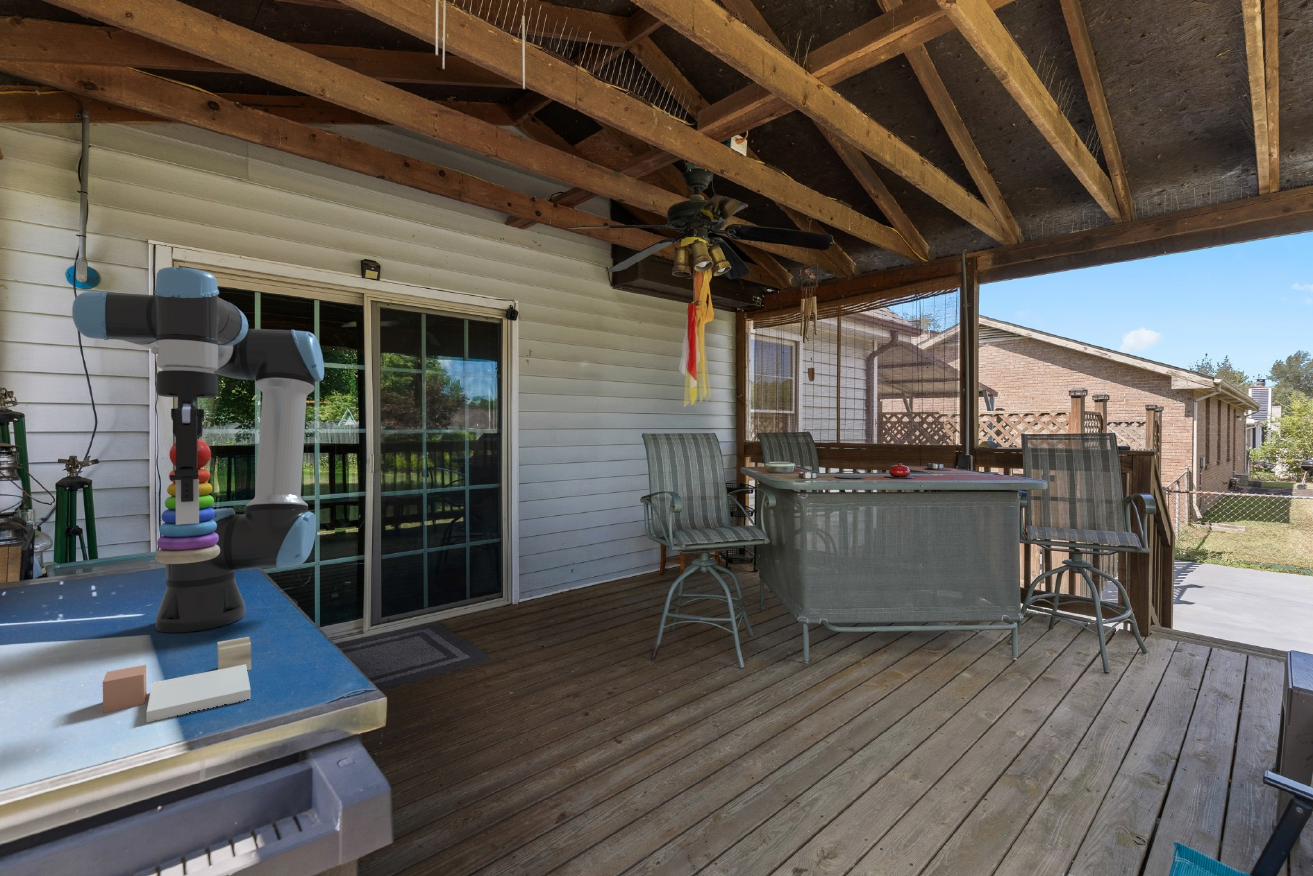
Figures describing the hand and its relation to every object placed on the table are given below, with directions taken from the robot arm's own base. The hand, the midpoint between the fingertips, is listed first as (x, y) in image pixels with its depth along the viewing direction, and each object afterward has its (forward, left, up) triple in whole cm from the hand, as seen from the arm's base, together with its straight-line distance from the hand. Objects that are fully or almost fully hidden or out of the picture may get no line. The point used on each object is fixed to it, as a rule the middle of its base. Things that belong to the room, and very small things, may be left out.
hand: (188, 520), depth 93 cm
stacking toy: (0, 0, -6) cm, 6 cm away
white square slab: (+2, +1, -27) cm, 27 cm away
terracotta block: (-2, -8, -27) cm, 28 cm away
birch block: (-7, +6, -27) cm, 28 cm away
